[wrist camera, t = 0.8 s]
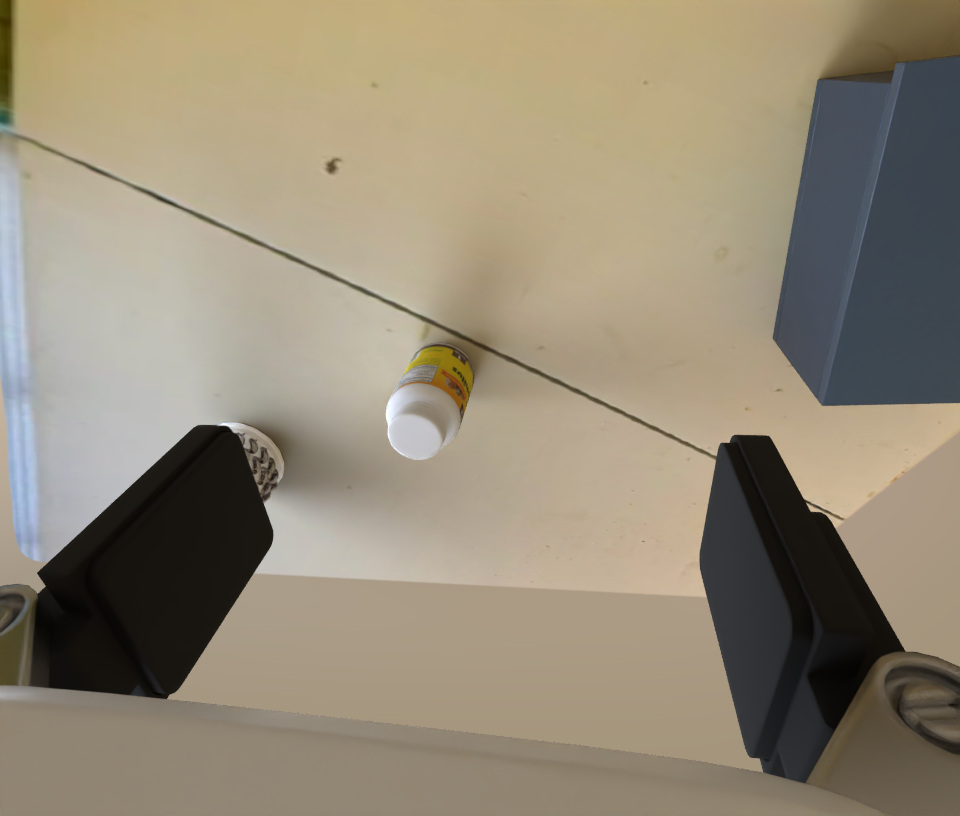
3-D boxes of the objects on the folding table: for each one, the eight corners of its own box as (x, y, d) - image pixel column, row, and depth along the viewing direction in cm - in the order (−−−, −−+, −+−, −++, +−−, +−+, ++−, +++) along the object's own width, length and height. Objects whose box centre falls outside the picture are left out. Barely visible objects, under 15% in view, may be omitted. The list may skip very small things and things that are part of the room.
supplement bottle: (481, 395, 47) (460, 468, 39) (419, 399, 49) (386, 471, 40) (470, 336, 45) (445, 400, 36) (405, 342, 46) (366, 406, 37)
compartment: (817, 79, 33) (890, 83, 25) (1113, 44, 30) (1294, 36, 22) (772, 338, 41) (816, 399, 34) (999, 329, 39) (1102, 392, 31)
